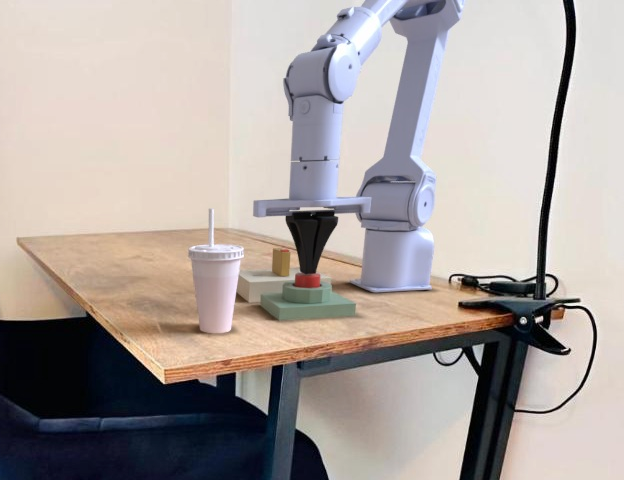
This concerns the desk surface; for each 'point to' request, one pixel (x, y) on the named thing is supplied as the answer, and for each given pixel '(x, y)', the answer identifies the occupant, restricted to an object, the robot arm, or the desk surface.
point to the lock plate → (265, 282)
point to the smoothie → (215, 281)
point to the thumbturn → (281, 261)
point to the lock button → (307, 280)
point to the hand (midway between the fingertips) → (307, 272)
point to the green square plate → (307, 303)
